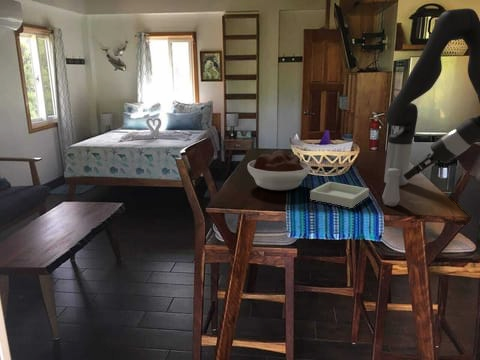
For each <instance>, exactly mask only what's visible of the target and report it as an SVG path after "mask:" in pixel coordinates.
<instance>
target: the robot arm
mask: <svg viewBox="0 0 480 360" xmlns="http://www.w3.org/2000/svg"><path fill="white" fill-rule="evenodd" d="M458 40H459V41H460V40H463V42H464V43H465V45H466V47H467V48H468V49H467V50H468V63H467V75H468V78H469V81H470V83H471V85H472V87H473V90H474V91H475V93H476V95H477V99H478V103H479V104H480V18H479V16H478V14H477V12H476V10H475V9H473V8H469V7H468V8H457V9H456V8H455V9H448V10H445V11H444V12H442V13H441V14H440V15H439V17H438V18H437V20H436V21H435V24H434V26H433V28H432V31H431V33H430V36H429V38H428V41H427V42H426V44H425V46H424V48H423V50H422V52H421V54H420V56H419V58H418V60H417V61H416V63H415V64H414V66H413V67H412V69H411V71H410V73H409V75H408V77H407V79H406V81H405V82H404V84H403V86H402V87H401V88H400V91H399V92H398V93H397V95H396V96H395V98H394V99H393V101H391V103H390V104H389V106H388V108H387V111H386V114H385V121H386V123H387V124H388V125H390V126H391V127H400V129H399V130H397V131H396V132H393V133H391V134H389V135H388V139H387V141H388V142H387V150H386V160H385V167H384V168H385V170H384V179H383V182H384V183H385V184H387V180H388V177H389V175H387V171H388V169H390V168H396V169H399V170H400V176H398V181H399V186H407V184H408V181H409V180H410V179H412V178H413V177H414V176H416V175H419V174H420V173H421V172H425V171H426V170H428V169H430V168H431V167H434V166H435V165H436V164H438V160H439V161H440V162H442V163H443V164H448V163H450V162H451V161H452V160H454V159H455V158H457V157H458V156H460V155H461V154H462V153H463V154H464V152H466V151H467V150H468V149H469V148H470V147H471V146H473V145H474V144H477V143H478V141H480V115H478V116H476V117H471V118H469V119H467V120H465V121H464V122H462V123H461V124H460V125H459V126H457V127H456V128H454V129H452V130H450V131H449V132H447V133H445V134H444V135H443V136H442V137H440V138H439V139H437V140H436V141H435V142H434V143H432V144H431V145H430V150H431V152H432V153H430V152H429V153H428V154H426V155H425V156H424V157H423V158H422V159H420V160H419V161H418V162H417V163H416V165H415V166H413V167H412V168H411V169H410V163H411V156H412V147H413V141H414V140H413V139H414V137H415V133H416V128H417V127H416V126H417V122H418V114H419V111H418V107H417V105H416V104H415V103H413V102H414V101H415V100H416V99H418V98H420V97H421V96H423V95H425V94H426V93H427V92H429V91H430V90H431V89H432V88H433V87H434V85H435V84H436V82H437V81H438V79H439V77H440V76H441V74H442V71H443V65H442V64H443V63H442V53H443V52H444V50H445V48H446V47H447V46H448V44H449V43H451V42H452V41H458Z"/></svg>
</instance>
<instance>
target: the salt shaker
mask: <svg viewBox="0 0 480 360" xmlns="http://www.w3.org/2000/svg"><path fill="white" fill-rule="evenodd" d="M387 175H389V177H388V180H387V183H385V187H384V191H383V194H382V195H381V197H382V201H383V204H384V205H385V206H387V205H388V207H395V206H397V205H398V204H399V202H400V200H401V197H400V196H401V194H400V185H399V181H398V176H400V170H399V169H396V168H390V169H388V171H387Z"/></svg>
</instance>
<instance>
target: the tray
mask: <svg viewBox="0 0 480 360" xmlns="http://www.w3.org/2000/svg"><path fill="white" fill-rule="evenodd" d="M369 192H370V188H367V187H362V186H356V185H351V184H344V183H340V182H334V181H328V182H326V183H324V184H322V185H320V186H318V187H315V188H314V189H311V190H310V191H309V194H310V196H309V200H310V199H311V200H310V201H312V200H316V201H315V202H317V201H322V202H327V203H332V204H337V205H341V206H345V207H349V208H348V209H350V208H353V207H354V206H355V205H356V204H358V203H359V202H360V201H362V200H364V199H365V198H367V197H368V198H369V196H370V195H369ZM368 198H367V199H368ZM364 201H365V200H364ZM358 205H359V204H358ZM345 207H344V208H345ZM355 207H356V206H355ZM355 207H354V208H355ZM354 208H353V209H354Z"/></svg>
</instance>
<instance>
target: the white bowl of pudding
mask: <svg viewBox="0 0 480 360" xmlns="http://www.w3.org/2000/svg"><path fill="white" fill-rule="evenodd" d="M246 167H247V171H248V173H249V174H250V176H252V177H253V180H254V182H255V184H256V185H257V186H258V187H260V188H262V189H265V190H270V191H288V190H290V191H291V190H294V189H296V188H298V187H300V186H301V184H302V182H303V180H304V179H305V178H306V177H308V174H310V171H311V166H310V164H309V163H307V162H306V161H304V160H303V161H302V160H301V158H300V156H299V155H297V154H295V153H294V154H289V155H288V154H287V153H286V152H285V151H284V150H282V149H278V150H276V151H273V152H272V154H268V153H266V154H264V153H262V154H260V155H259V156H257V158H256V159H254V160H251V161H249V162H248V163H247V166H246Z"/></svg>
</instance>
